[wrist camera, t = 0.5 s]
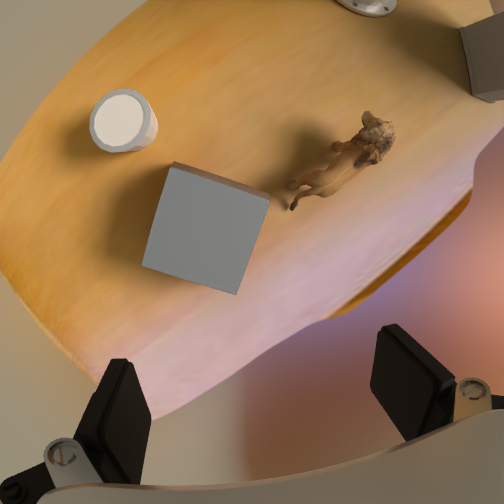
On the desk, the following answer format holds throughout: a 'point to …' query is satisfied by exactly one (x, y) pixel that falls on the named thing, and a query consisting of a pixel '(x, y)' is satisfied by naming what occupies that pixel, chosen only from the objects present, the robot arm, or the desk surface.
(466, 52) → the tall grey upright box
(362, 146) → the lion figurine
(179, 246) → the top block
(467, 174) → the desk surface
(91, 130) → the beige cup
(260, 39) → the desk surface
